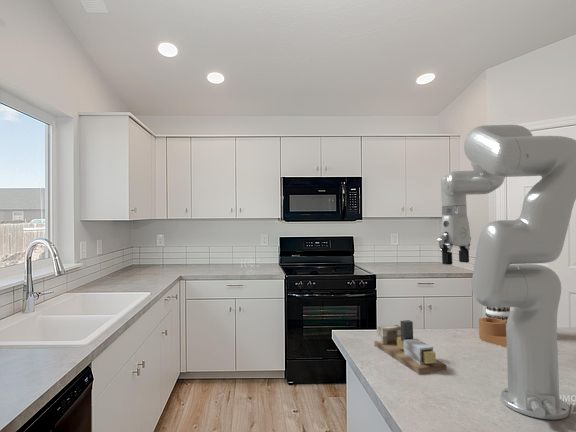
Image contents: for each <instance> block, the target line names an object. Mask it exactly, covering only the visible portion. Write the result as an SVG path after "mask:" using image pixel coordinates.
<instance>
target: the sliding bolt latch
mask: <svg viewBox="0 0 576 432" xmlns="http://www.w3.org/2000/svg"><path fill="white" fill-rule="evenodd" d="M397 337H401V325H399V324H397V323H392V324H381V325H377V340H374V346H375V347H376V348H378V349H379V350H381V351H383V353H385V354H387V355H388V356H390V357H392V358H393V359H394V360H396V361H397V362H399V363H400V364H402V365H404V366H406V367H407V368H408V369H410V370H411V371H413V372H415V373H416V374H417V375H424V374H430V373H436V372H443V371H447V364H445V363H443V362H442V361H440V360H438V359H437V358H436V363H429V364H427V363H425V362H423V361H422V354H421V350H428V349H430V350H432V351H433V352H434V346H432V345H430V344H428V343H426V342H424V341H422V340H421V339H418V338H413V339H408V340H404V350H403V349H401V348H399V347H397Z"/></svg>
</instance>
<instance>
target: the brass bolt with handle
mask: <svg viewBox="0 0 576 432" xmlns="http://www.w3.org/2000/svg"><path fill="white" fill-rule="evenodd" d="M400 326H401V337H397V347H399V348H401V349H403V350H404V340H408V339H414V329H413V328H414V322H413V321H412V320H409V319H406V320H400ZM421 354H422V361H423V362H425V363H427V364H429V363H436V359H437V357H436V355H437V353H436V351H434V350H433V351H432V350H430V349H428V350H421Z"/></svg>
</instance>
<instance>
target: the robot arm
mask: <svg viewBox="0 0 576 432" xmlns="http://www.w3.org/2000/svg"><path fill="white" fill-rule="evenodd" d="M463 151H464V154H465V156H466V158H467V160H469V161H470V164H471V167H472V169H473V170H455V171H451V172H449V173H447V175H443V176H442V178H441V179H440V189H441V190H440V192H441V194H440V195H441V197H440V198H441V227H440V228H441V229H440V230H441V231H440V235H441V236H440V237H439V238H437V242H438V244H439V248H440V252H441V261H442V262H441V263H442V265H447V266H448V265H449V266H450V265H451V266H452V265H453V251H452V249H453V248H454V247H458V248H459V250H458V261H459V263H466V264H467V263H469V262H470V257H469V256H470V252H469V251H470V246H471V242H472V241H471V240H472V237H471V229H470V222H469V219H468V218H469V217H468V214H467V213H468V210H467V209H468V208H467V195H469V196H470V195H474V196H475V195H488V194H490V193H492V192H494V191H495V190H497V189H499V188H500V187H501V186H502V185H503V183H504V180H505V178H508V177H509V178H511V177H515V178H516V177H539V176H540V177H541V179H540V180H539V181H538V182H537V183H535V184H534V185H533V186H532V187H531V188H530V190H529V191H528V192H527V193H526V195H525V196H524V199H523V201H522V207H521V210H520V211H521V212H520V215H519V216H518V218H517V219H507V220H505V219H501V220H493V221H491V222H488V223H487V224H486V225H485V226H484V227H483V228H482V230H481V231H480V234H479V236H478V241H477V247H476V252H475V257H474V265H473V269H472V277H471V278H472V279H471V291H472V294H473V296H474V298H475V300H476V302H477V303H478V304H480V305H482V306H484V307H486V308H487V307H510V308H512V309H511V310H510V311H511V313H510V314H509V317H508V319H507V323H506V339H507V347H506V361H507V362H506V365H507V386H508V387H507V388H505V389H503V390H502V391H501V392H500V400H501V401H502V403H503V404H504V405H505V406H507V407H509V409H511V410H513V411H514V412H517V413H519V414H522V415H525V416H529V417H532V418H536V419H541V420H552V421H553V420H554V421H555V420H562V419H565V418H567V417H568V416H569V415H570V409H569V408H570V407H569V406H568V404H567V403H566V402H565V401H564V400H563V399H561V398H560V375H559V356H558V355H559V353H558V352H559V351H558V350H559V349H558V313H559V312H558V311H559V306H560V305H559V304H560V301H561V296H562V295H561V294H562V283H561V280H560V277H559V276H558V274H557V273H556V272H555V271H554V270H553V269H551V268H550V267H548V266H545V265H541V264H546V263H552V262H554V261H556V260H558V259H559V257H560V256H561V253H562V251H563V248H564V244H565V242H566V237H567V233H568V228H569V225H570V222H571V217H572V212H573V209H574V205H575V202H576V139H574V138H572V137H568V136H562V135H561V136H560V135H534V136H533V133H532V132H531V131H530V129H528V128H527V127H525V126H523V125H518V124H490V125H489V124H487V125H486V124H485V125H478V126H476V127H474V128H473V129H471V130H470V131H469V133H468V134H467V135H466V137H465V140H464V143H463Z"/></svg>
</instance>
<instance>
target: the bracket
mask: <svg viewBox="0 0 576 432" xmlns="http://www.w3.org/2000/svg"><path fill="white" fill-rule="evenodd" d="M478 334H479V338H480V339H481V340H480V339H479V338H478V339H479V340H480V341H482V342H484V341H485V342H484V343H488V344H493V345H495V344H496V346H499V345H500V346H501V347H504V348H507V339H506V321H504V320H502V319H497V318H486V317H480V318H479V317H478Z"/></svg>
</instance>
